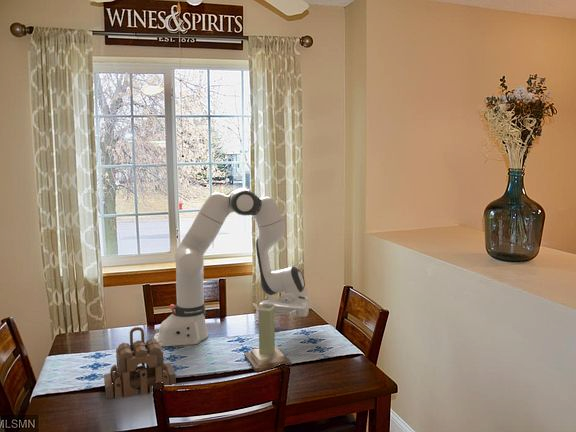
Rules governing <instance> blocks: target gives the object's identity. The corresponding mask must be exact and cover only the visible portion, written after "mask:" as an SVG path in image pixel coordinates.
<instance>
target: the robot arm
mask: <svg viewBox="0 0 576 432" xmlns="http://www.w3.org/2000/svg"><path fill="white" fill-rule="evenodd" d="M231 213H236V214H237V215H239V216H253V218H254V219H255V221H256V224H257V227H258V237H257V238H256V240H255V250H256V256H257V261H258V269H259V274H260V277H259V278H260V287H261V289H262V291H263V293H265V294H267V295H270V296H274V295H276V294H279V293H282V295H281V296H280V297H279V298H278V300H277V299H265V300H263V301H261V302H260V303H259V304H258V307H259V306H261V305H262V304H272V305H275V307H274V315H284V316H287V318H292V317H300V318H301V317H303V318H304V317H307V316H308V315H309V306H310V303H309V298H308V291H307V288H306V281H305V277H304V275H303V272H302V271H301V270H300V269H299V268H297V267H296V266H290V267H289V266H288V267H285V268H282V269H276V270H272V269H271V262H270V257H269V251H270V249H271V248H272V247H273V246H274V245H276V244H277V243H278V242H280V241H281V240H282V239H283V237H284V236H285V233H286V225H285V222H284V219H283V216H282V213H281V210H280V209H279V207H278V205H277V202H276V201H275V200H274V198H272V197H269V196H263V197H258V196H257V195H256V194H255V193H254V192H253V191H252V190H251V189H249V188H246V187H238V188H235V189H233V190H231V191H230V192H228V193H227V194H224V193H221V192H213V193H211V194H210V195H209V197H208V198H207V199H205V201H204V204H202V206H201V208H200V210H199V211H198V213H197V215H196V217H195V219H194V220H193V222H192V224H191V226H190V228H189V230H188V231H187V233H186V234H185V236H184V237H183V238H182V240H181V242H180V244H179V245H178V246H177V249H176V250H175V253H174V259H175V260H174V261H175V280H176V281H175V288H176V289H175V290H176V292H175V293H176V304H174V303H172V304H170V305H169V308H170V310H171V314H170V315H169V316H167V318H166V319H164V320H163V321H162V322H161V323H160V326H159V331H158V332H156V333H155V334H154V336H153V339H156V340H157V342H159V344H160V346H161V348H162V347H174V346H187V345H188V346H189V345H197V344H199V343H200V342H201V341H203V340H205V339H207V338H208V337H209V331H208V328H207V323H206V305H205V301H204V299H205V298H204V273H205V271H204V269H205V268H204V267H205V265H204V263H205V262H204V261H205V259H204V256H205V254H206V252H207V250H209V248H210V246H211V245H212V243H213V242H214V241H215V240H216V238H217V236H218V234H219V232H220V231H221V228H222V226H223V225H224V223H225V221H226V218H227V217H228V216H229V215H230V214H231ZM283 292H284V293H283Z"/></svg>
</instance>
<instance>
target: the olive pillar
mask: <svg viewBox="0 0 576 432" xmlns="http://www.w3.org/2000/svg"><path fill="white" fill-rule="evenodd" d="M274 307H275V305H272V304H262V305H261V306H259V305H258V309H257V310H259V315H258V317H259V323H258V348H259V354H262V355H269V356H271V355H272V354H273V352H274V351H275V346H276V345H275V344H276V342H275V341H276V340H275V339H276V338H275V336H276V334H275V330H276V329H275V326H276V324H275V322H276V321H275V314H274Z"/></svg>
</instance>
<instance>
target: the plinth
mask: <svg viewBox="0 0 576 432" xmlns="http://www.w3.org/2000/svg"><path fill="white" fill-rule="evenodd" d="M244 356H245V357H244ZM243 357H244V358H245V359H247V360H248V361H247V360H246V361H247V362H248V364H249V363H250V364H249V365H250V367H251V366H252V367H251V368H252V369H253V371H254V372H261V371H267V370H271V368H273V369H275V368H274V367H276V366H278V365H279V364H283V363H284V364H287V365H290V366H292V365H293V362H292V360H290V359H289V357H287V355H286V354H285V353H284V352H283V351H282V350H281V349H280V348H279V347H277V346H276V345H275V351H274V352H273V354H272V355H271V356H269V355H262V354H259V347H258V348H251V349H250V352H246V353H244V354H243Z"/></svg>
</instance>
